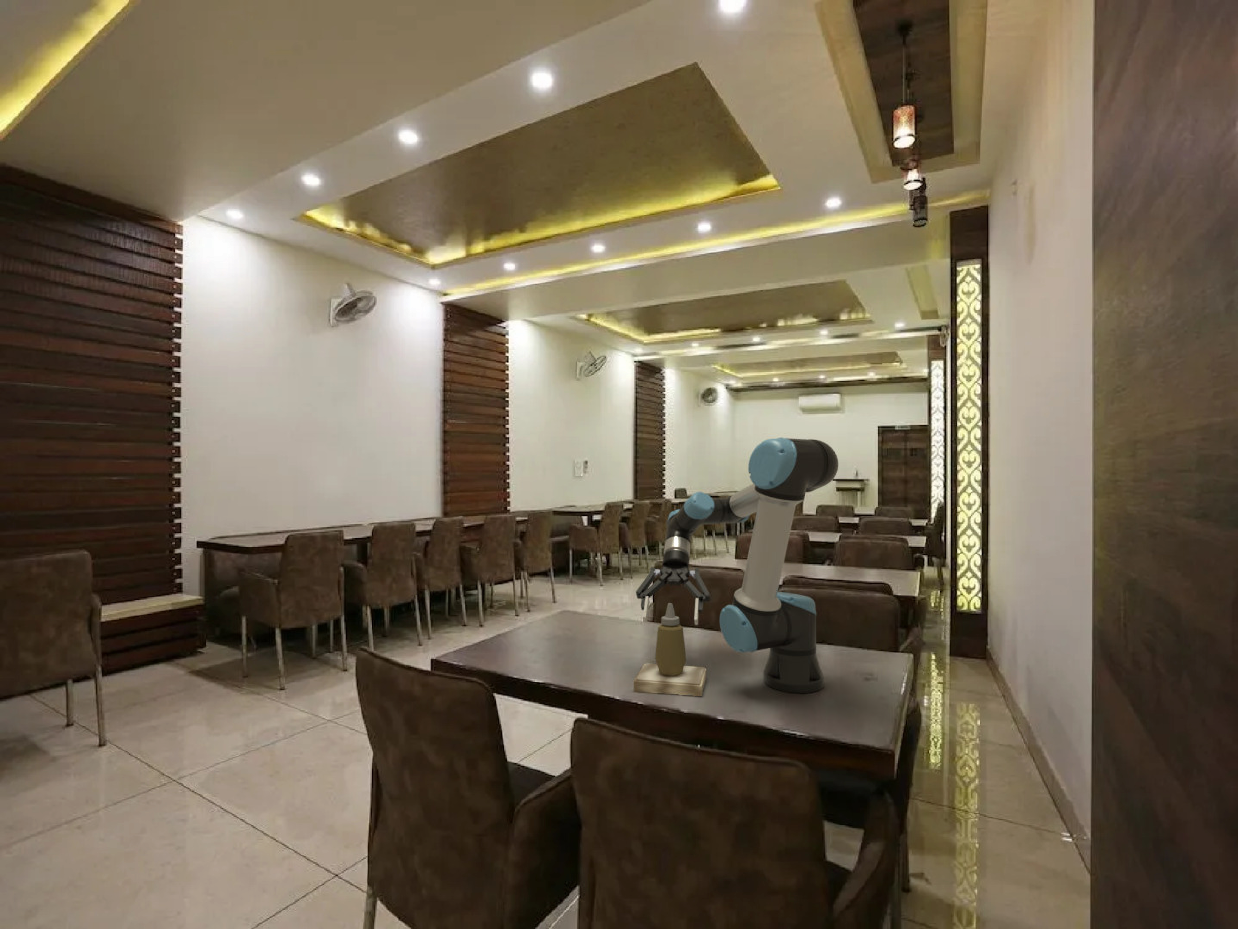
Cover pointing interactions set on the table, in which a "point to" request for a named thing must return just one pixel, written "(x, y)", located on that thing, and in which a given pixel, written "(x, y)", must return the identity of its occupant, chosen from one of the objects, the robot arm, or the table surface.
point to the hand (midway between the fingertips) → (670, 621)
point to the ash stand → (670, 681)
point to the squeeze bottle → (670, 645)
